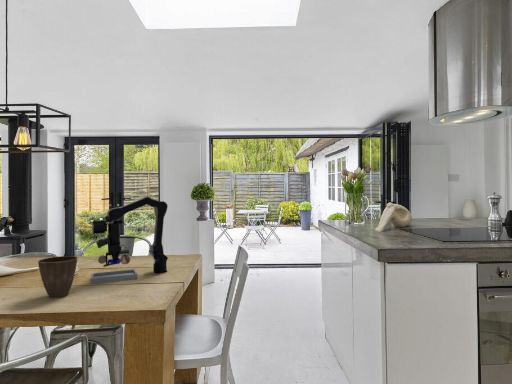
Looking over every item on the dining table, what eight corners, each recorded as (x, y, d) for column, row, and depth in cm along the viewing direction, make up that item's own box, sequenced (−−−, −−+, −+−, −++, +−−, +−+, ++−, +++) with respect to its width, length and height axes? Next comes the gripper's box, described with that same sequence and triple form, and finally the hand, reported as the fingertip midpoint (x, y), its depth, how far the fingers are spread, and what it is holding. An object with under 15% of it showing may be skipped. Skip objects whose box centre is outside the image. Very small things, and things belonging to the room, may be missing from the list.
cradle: (135, 273, 186) (135, 268, 186) (137, 278, 174) (137, 273, 174) (91, 277, 177) (91, 273, 177) (90, 283, 165) (90, 279, 165)
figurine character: (99, 271, 170) (131, 264, 175) (97, 256, 169) (129, 250, 175) (100, 268, 176) (130, 262, 182) (97, 253, 176) (128, 248, 181)
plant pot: (41, 293, 151) (41, 257, 151) (79, 288, 157) (78, 254, 157) (35, 303, 137) (34, 264, 137) (76, 297, 143) (75, 260, 143)
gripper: (97, 231, 181) (97, 260, 181) (96, 235, 164) (97, 267, 164) (119, 230, 185) (120, 258, 185) (121, 234, 168) (121, 265, 168)
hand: (114, 262), depth 175 cm, fingers closed on figurine character, 7 cm apart
